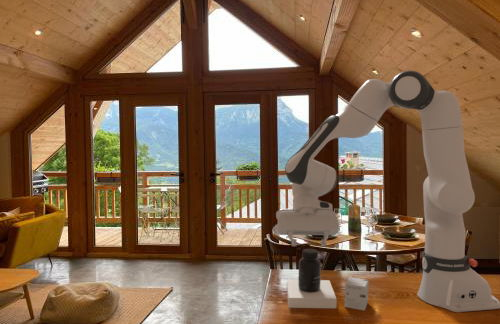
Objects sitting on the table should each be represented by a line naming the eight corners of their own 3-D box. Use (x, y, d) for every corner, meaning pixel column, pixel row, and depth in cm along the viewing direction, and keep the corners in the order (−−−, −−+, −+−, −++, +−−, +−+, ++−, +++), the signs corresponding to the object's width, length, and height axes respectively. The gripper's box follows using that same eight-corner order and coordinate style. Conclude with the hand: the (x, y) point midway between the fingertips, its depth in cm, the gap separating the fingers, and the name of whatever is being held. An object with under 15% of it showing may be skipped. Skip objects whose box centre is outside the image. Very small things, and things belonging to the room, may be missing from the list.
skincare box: (344, 307, 118) (344, 283, 117) (348, 299, 123) (348, 276, 123) (365, 311, 115) (365, 286, 115) (368, 302, 121) (368, 279, 120)
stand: (329, 289, 131) (329, 280, 131) (336, 308, 117) (336, 298, 117) (286, 288, 132) (286, 279, 131) (288, 307, 118) (288, 297, 117)
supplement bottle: (320, 293, 120) (320, 255, 119) (297, 292, 121) (297, 253, 120) (320, 284, 127) (321, 248, 126) (299, 283, 128) (299, 247, 127)
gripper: (275, 204, 134) (276, 240, 125) (336, 203, 133) (342, 240, 125) (275, 214, 139) (276, 250, 130) (334, 214, 138) (339, 250, 129)
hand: (309, 245), depth 127 cm, fingers open, 8 cm apart
